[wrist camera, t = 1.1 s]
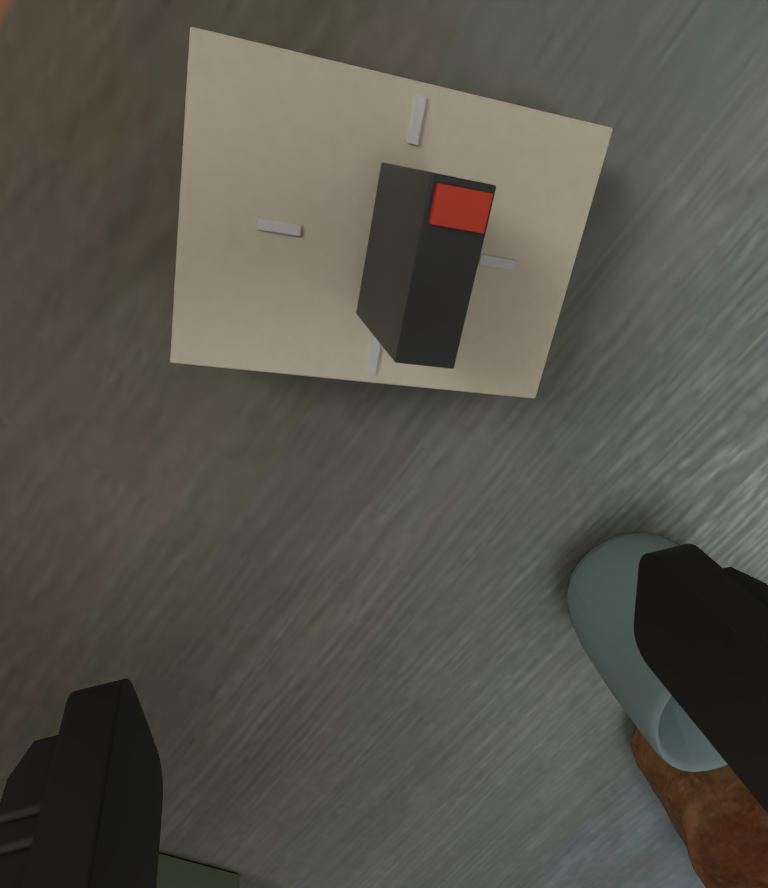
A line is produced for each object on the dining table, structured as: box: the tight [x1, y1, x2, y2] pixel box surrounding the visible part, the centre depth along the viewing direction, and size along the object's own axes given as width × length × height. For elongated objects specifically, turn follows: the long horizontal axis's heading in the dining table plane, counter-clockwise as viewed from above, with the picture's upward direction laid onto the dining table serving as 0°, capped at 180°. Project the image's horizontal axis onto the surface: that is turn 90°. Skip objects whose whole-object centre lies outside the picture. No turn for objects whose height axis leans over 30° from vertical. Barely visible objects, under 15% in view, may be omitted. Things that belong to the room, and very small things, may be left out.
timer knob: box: [356, 162, 496, 369], centre depth 20 cm, size 5×2×6 cm, turn 169°
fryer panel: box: [170, 27, 613, 398], centre depth 24 cm, size 14×10×4 cm
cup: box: [567, 532, 728, 772], centre depth 33 cm, size 8×8×10 cm
